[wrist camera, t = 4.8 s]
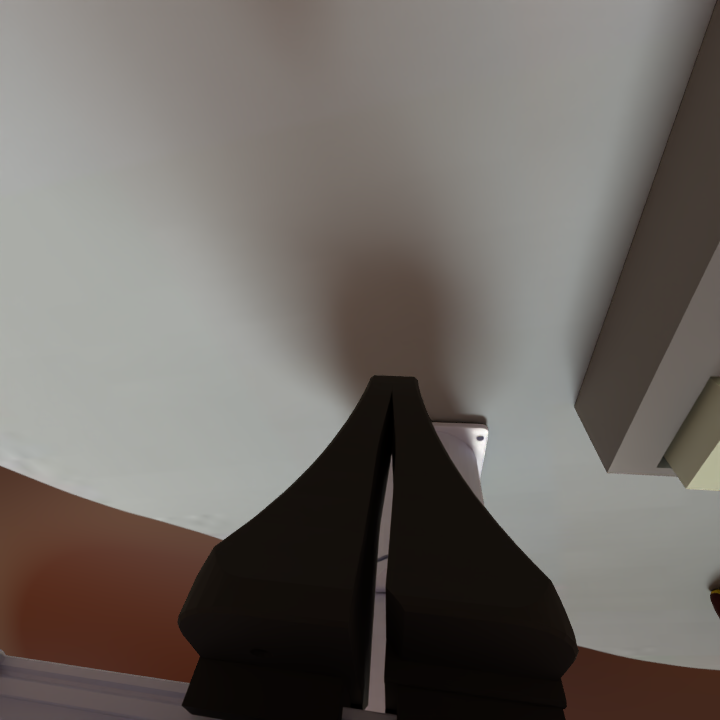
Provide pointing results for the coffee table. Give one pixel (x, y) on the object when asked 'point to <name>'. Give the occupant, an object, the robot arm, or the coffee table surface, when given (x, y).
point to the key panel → (664, 294)
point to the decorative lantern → (716, 601)
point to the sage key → (699, 442)
